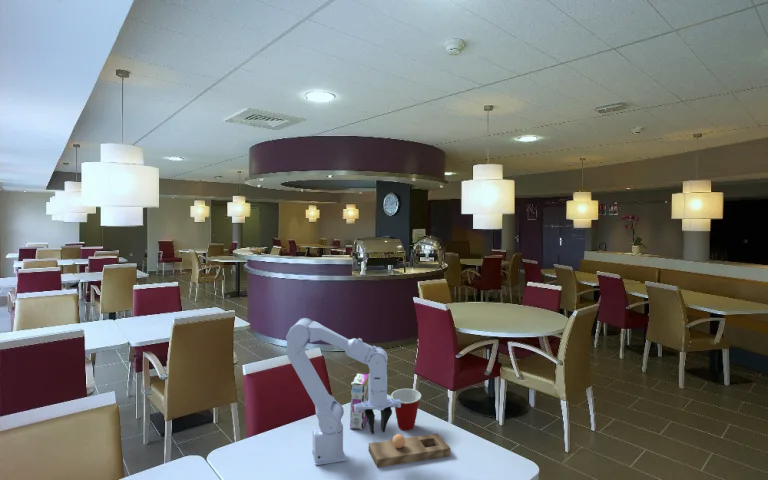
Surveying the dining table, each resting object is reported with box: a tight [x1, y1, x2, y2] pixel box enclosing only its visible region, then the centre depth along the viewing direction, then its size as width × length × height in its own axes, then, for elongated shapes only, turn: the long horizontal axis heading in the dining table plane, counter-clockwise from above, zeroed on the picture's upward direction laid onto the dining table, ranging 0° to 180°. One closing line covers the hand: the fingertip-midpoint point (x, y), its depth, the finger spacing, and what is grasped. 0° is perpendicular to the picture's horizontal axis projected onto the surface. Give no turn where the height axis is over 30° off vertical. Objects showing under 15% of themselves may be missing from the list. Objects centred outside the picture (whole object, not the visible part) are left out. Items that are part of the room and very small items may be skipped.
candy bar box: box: [349, 373, 369, 431], centre depth 159 cm, size 11×5×16 cm, turn 172°
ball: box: [391, 433, 406, 448], centre depth 137 cm, size 4×4×4 cm
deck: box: [368, 433, 451, 469], centre depth 138 cm, size 24×10×2 cm, turn 107°
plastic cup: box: [390, 388, 422, 431], centre depth 155 cm, size 11×11×12 cm
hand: (377, 431), depth 135 cm, fingers open, 3 cm apart
